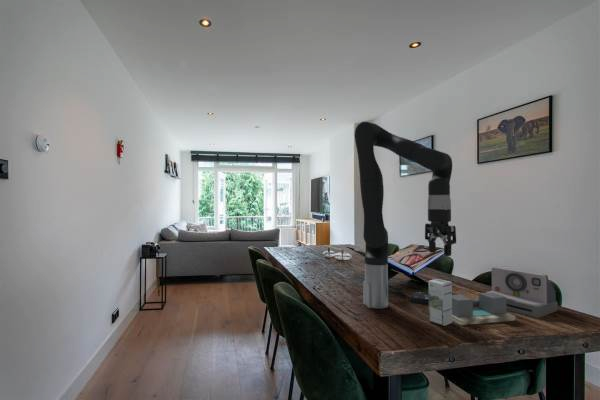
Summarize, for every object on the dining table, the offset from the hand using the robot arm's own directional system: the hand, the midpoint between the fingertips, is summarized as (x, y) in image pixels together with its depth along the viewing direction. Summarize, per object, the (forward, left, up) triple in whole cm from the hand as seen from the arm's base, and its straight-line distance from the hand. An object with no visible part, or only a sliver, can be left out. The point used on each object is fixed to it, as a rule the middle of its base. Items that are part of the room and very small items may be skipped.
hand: (439, 254), depth 113 cm
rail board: (+16, +2, -24) cm, 29 cm away
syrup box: (0, 0, -24) cm, 24 cm away
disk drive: (+11, +22, -25) cm, 35 cm away
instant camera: (+42, +8, -24) cm, 49 cm away
